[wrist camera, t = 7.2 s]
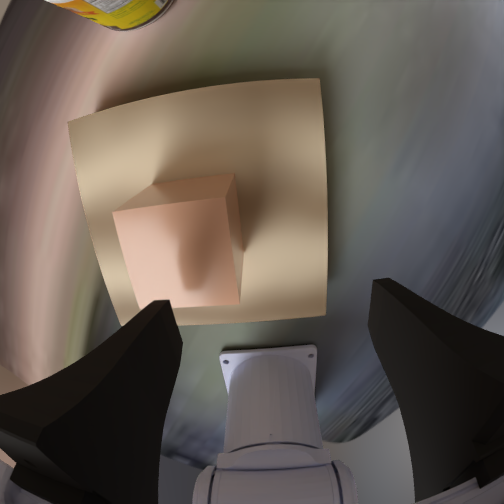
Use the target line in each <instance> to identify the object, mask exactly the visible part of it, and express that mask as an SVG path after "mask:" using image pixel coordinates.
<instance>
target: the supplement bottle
mask: <svg viewBox="0 0 504 504" xmlns="http://www.w3.org/2000/svg"><path fill="white" fill-rule="evenodd" d="M45 1H47V2H50V3H52V4H55V5H57V6H60V7H62V8H65V9H67V10H70V11H72V12H74V13H77V14H79V15H81V16H83V17H85V18H88V19H90V20H92V21H94V22H96V23H99V24H101V25H103V26H105V27H107V28H109V29H112V30H115V31H133V30H137V29H140V28H142V27H145V26H147V25H149V24H151V23H152V22H154V21H155V20H157V19H158V18H159V17H160V16H162V15H163V14H164V13H165V12H166V10H167V9H168V8H169V7H170V5H171V4H172V2H173V0H45Z"/></svg>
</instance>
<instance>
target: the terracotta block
mask: <svg viewBox="0 0 504 504" xmlns="http://www.w3.org/2000/svg"><path fill="white" fill-rule="evenodd" d="M112 214H113V218H114V222H115V226H116V230H117V234H118V238H119V242H120V246H121V249H122V253H123V257H124V260H125V264H126V267H127V270H128V274H129V277H130V280H131V284H132V287H133V290H134V293H135V296H136V299H137V302H138V305H139V308H140V309H143V308H145V307H146V306H147V305H148V304H150V303H151V302H152V301H154V300H168V299H169V300H170V303H171V306H172V308H181V307H202V306H220V305H236V304H240V296H241V284H242V272H243V260H244V248H243V239H242V231H241V222H240V214H239V205H238V197H237V188H236V179H235V173H231V174H222V175H213V176H205V177H197V178H189V179H182V180H175V181H168V182H161V183H155V184H151V185H150V186H148V187H147V188H145V189H144V190H142V191H141V192H139V193H138V194H137V195H135V196H134V197H132V198H131V199H129V200H128V201H127V202H125V203H124V204H122V205H121V206H120V207H118V208H117V209H115V210H114V211H113V212H112Z"/></svg>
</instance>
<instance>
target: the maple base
mask: <svg viewBox="0 0 504 504" xmlns="http://www.w3.org/2000/svg"><path fill="white" fill-rule="evenodd" d="M68 128H69V135H70V142H71V148H72V154H73V160H74V166H75V171H76V176H77V181H78V186H79V191H80V195H81V199H82V204H83V208H84V212H85V216H86V220H87V224H88V228H89V231H90V235H91V238H92V242H93V245H94V249H95V252H96V255H97V259H98V262H99V265H100V268H101V271H102V274H103V277H104V280H105V283H106V286H107V289H108V292H109V295H110V297H111V300H112V303H113V306H114V308H115V311H116V313H117V316H118V319H119V321H120V324H121V326H124V325H125V324H126V323H127V322H128V321H129V320H131V319H132V318H133V317H134V316H135V315H136V314H138V313H139V312H140V311H141V310H142V309H140V308H139V305H138V302H137V299H136V296H135V293H134V290H133V287H132V284H131V280H130V277H129V274H128V270H127V267H126V264H125V260H124V257H123V253H122V249H121V246H120V242H119V238H118V234H117V230H116V226H115V222H114V218H113V214H112V212H113V211H114V210H115V209H117V208H118V207H120V206H121V205H122V204H124V203H125V202H127V201H128V200H129V199H131V198H132V197H134V196H135V195H137V194H138V193H139V192H141V191H142V190H144V189H145V188H147V187H148V186H150V185H151V184H155V183H161V182H168V181H175V180H182V179H189V178H197V177H205V176H213V175H222V174H231V173H235V179H236V188H237V197H238V205H239V214H240V222H241V231H242V239H243V248H244V260H243V272H242V284H241V296H240V304H236V305H220V306H202V307H181V308H172V310H173V313H174V316H175V320H176V323H177V325H204V324H225V323H242V322H257V321H271V320H283V319H294V318H305V317H314V316H324V315H326V300H327V264H328V209H327V173H326V152H325V135H324V120H323V108H322V96H321V86H320V78H305V79H278V80H263V81H251V82H241V83H232V84H224V85H216V86H209V87H203V88H197V89H191V90H185V91H180V92H174V93H169V94H165V95H160V96H155V97H151V98H147V99H143V100H138V101H134V102H131V103H127V104H123V105H119V106H116V107H112V108H109V109H106V110H102V111H99V112H96V113H93V114H90V115H86V116H83V117H81V118H78V119H75V120H72V121H69V122H68Z"/></svg>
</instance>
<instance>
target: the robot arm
mask: <svg viewBox="0 0 504 504" xmlns="http://www.w3.org/2000/svg"><path fill="white" fill-rule="evenodd" d="M368 328H369V332H370V335H371V339H372V342H373V345H374V348H375V350H376V353H377V355H378V357H379V359H380V362H381V364H382V366H383V368H384V371H385V373H386V375H387V377H388V380H389V382H390V384H391V386H392V389H393V391H394V393H395V396H396V398H397V401H398V404H399V407H400V411H401V415H402V418H403V422H404V426H405V430H406V435H407V439H408V444H409V450H410V456H411V462H412V468H413V478H414V490H415V503H413V504H504V336H502V335H499V334H496V333H493V332H490V331H487V330H484V329H482V328H479V327H477V326H475V325H472V324H470V323H468V322H466V321H463V320H461V319H459V318H457V317H455V316H453V315H451V314H450V313H448V312H446V311H444V310H442V309H440V308H439V307H437V306H435V305H434V304H432V303H430V302H428V301H427V300H425V299H424V298H422V297H420V296H419V295H417V294H415V293H414V292H412V291H411V290H409V289H407V288H406V287H404V286H402V285H401V284H399V283H397V282H396V281H394V280H392V279H390V278H383V279H376V280H373V284H372V294H371V303H370V312H369V320H368ZM182 346H183V341H182V338H181V335H180V332H179V329H178V326H177V323H176V320H175V316H174V313H173V310H172V306H171V303H170V300H169V299H168V300H154V301H152V302H151V303H150V304H148V305H147V306H146V307H145V308H143V309H142V310H141V311H140V312H139V313H138V314H136V315H135V316H134V317H133V318H132V319H131V320H129V321H128V322H127V323H126V324H125V325H124V326H123V327H121V328H120V329H119V330H118V331H117V332H116V333H114V334H113V335H112V336H111V337H109V338H108V339H107V340H106V341H104V342H103V343H102V344H101V345H99V346H98V347H97V348H95V349H94V350H93V351H91V352H90V353H88V354H87V355H86V356H84V357H82V358H81V359H79V360H78V361H76V362H75V363H73V364H72V365H70V366H68V367H66V368H64V369H63V370H61V371H59V372H57V373H55V374H53V375H52V376H50V377H48V378H45V379H43V380H41V381H39V382H37V383H34V384H32V385H29V386H27V387H24V388H22V389H18V390H15V391H12V392H9V393H6V394H2V395H0V448H1V449H2V450H3V451H4V452H5V453H6V454H7V455H8V456H9V457H11V458H12V459H13V460H14V461H15V462H16V465H15V467H14V468H12V467H11V466H9V465H8V464H6V463H4V462H3V461H1V460H0V504H158V477H159V461H160V450H161V442H162V434H163V427H164V422H165V417H166V413H167V409H168V406H169V402H170V399H171V395H172V392H173V388H174V385H175V381H176V378H177V374H178V371H179V367H180V361H181V354H182ZM309 354H312V355H309ZM219 359H220V363H221V367H222V371H223V375H224V379H225V383H226V387H227V391H228V406H227V417H226V429H225V441H224V453H219V454H218V459H217V466H207V467H206V468H205V470H204V471H202V472H201V473H200V474H199V476H198V477H197V480H196V483H195V487H194V493H193V504H358V496H357V489H356V484H355V480H354V477H353V474H352V472H351V470H350V469H349V467H347V466H346V465H345V464H344V463H343V462H342V461H340V460H333V461H331V457H330V451H329V449H323V446H322V439H321V432H320V426H319V420H318V414H317V408H316V402H315V396H314V393H315V379H316V364H317V347H316V346H315V345H301V346H291V347H279V348H266V349H251V350H232V351H222V352H221V353H220V355H219ZM225 360H228V361H225Z"/></svg>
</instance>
